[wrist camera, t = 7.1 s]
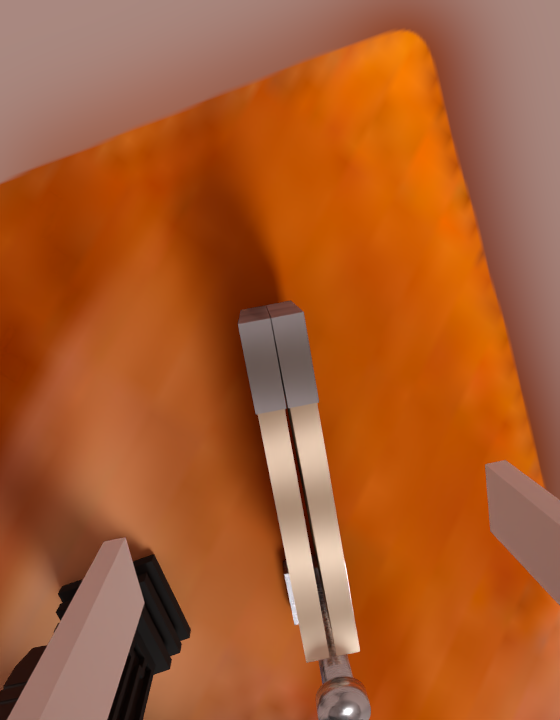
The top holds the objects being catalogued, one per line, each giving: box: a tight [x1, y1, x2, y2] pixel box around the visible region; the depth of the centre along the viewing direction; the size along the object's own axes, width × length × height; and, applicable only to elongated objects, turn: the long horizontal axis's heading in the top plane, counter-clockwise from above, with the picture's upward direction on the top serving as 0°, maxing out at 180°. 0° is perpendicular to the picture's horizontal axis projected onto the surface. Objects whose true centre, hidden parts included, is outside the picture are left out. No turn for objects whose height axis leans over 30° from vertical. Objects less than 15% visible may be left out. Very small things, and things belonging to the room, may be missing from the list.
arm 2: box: [238, 305, 330, 662], centre depth 28 cm, size 22×2×7 cm, turn 10°
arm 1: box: [266, 301, 360, 656], centre depth 28 cm, size 22×2×7 cm, turn 10°
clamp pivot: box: [283, 555, 371, 720], centre depth 31 cm, size 5×5×11 cm
